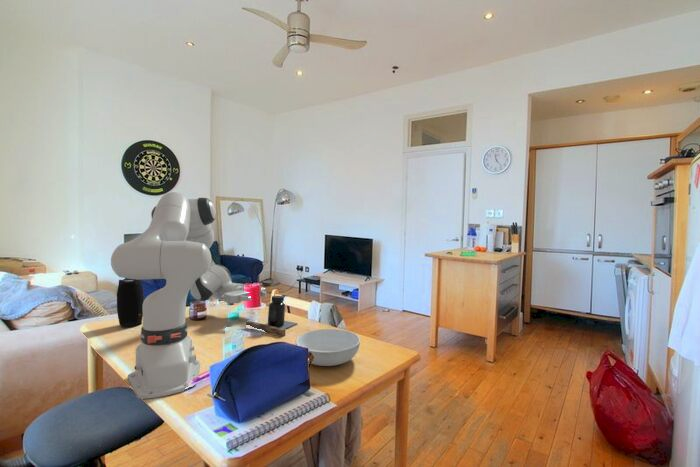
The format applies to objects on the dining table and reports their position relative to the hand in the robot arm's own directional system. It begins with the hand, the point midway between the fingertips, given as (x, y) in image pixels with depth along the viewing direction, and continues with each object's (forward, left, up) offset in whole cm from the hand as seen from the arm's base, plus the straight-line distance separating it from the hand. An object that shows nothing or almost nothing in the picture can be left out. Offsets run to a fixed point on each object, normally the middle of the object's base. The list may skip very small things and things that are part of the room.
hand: (258, 296), depth 150 cm
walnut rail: (-14, +2, -11) cm, 18 cm away
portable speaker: (+21, +48, -11) cm, 53 cm away
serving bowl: (-50, -8, -11) cm, 52 cm away
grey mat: (-10, -6, -11) cm, 16 cm away
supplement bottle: (-11, -4, -10) cm, 15 cm away
